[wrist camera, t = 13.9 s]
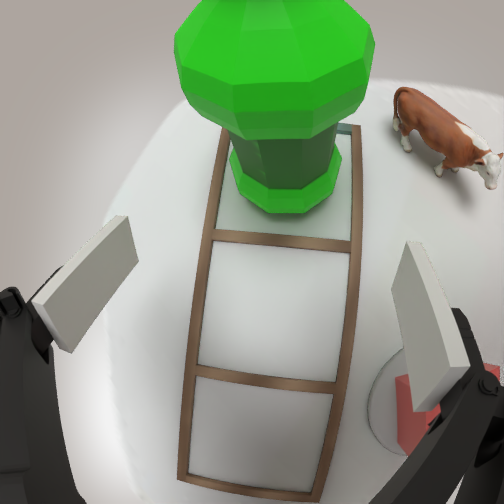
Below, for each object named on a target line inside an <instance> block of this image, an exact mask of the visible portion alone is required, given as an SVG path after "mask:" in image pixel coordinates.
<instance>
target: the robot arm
mask: <svg viewBox="0 0 504 504" xmlns="http://www.w3.org/2000/svg"><path fill="white" fill-rule="evenodd" d="M138 262H139V260H138V257H137V253H136V249H135V245H134V241H133V237H132V232H131V228H130V224H129V219H128V216H115V217H114V218H113V219H112V220H110V221H109V222H108V223H107V224H106V225H105V226H104V227H103V228H102V229H101V230H100V231H99V232H97V233H96V234H95V235H94V236H93V237H92V238H91V239H90V240H89V241H88V242H87V243H86V244H85V245H84V246H83V247H82V248H81V249H80V250H79V251H78V252H77V253H76V254H75V255H74V256H73V257H72V258H71V259H70V260H69V261H68V262H67V263H66V264H65V265H63V266H62V267H60V268H58V269H57V270H56V271H55V272H54V273H53V274H52V275H51V276H50V278H49V279H48V280H47V281H46V282H45V284H43V285H42V286H41V287H40V288H39V289H38V290H37V292H36V293H35V294H34V295H33V296H32V297H31V298H30V299H29V301H28V302H27V303H25V301H24V299H23V298H22V296H21V294H20V292H19V290H18V289H17V288H16V287H8V288H6V289H4V290H3V291H2V292H0V504H86V502H85V500H84V499H83V498H82V497H81V496H80V494H79V493H78V491H77V489H76V486H75V483H74V479H73V475H72V472H71V468H70V464H69V460H68V455H67V451H66V446H65V442H64V437H63V432H62V426H61V420H60V414H59V407H58V399H57V390H56V382H55V369H54V353H53V348H52V346H51V342H52V341H53V340H54V341H55V342H56V344H57V345H58V347H59V348H60V349H62V350H64V351H67V352H69V353H72V352H73V351H74V349H75V348H76V347H77V345H78V343H79V342H80V341H81V339H82V338H83V336H84V335H85V333H86V332H87V330H88V329H89V327H90V326H91V325H92V323H93V322H94V320H95V319H96V318H97V316H98V315H99V313H100V312H101V311H102V309H103V308H104V306H105V305H106V304H107V302H108V301H109V300H110V298H111V297H112V296H113V294H114V293H115V292H116V290H117V289H118V288H119V286H120V285H121V284H122V282H123V281H124V280H125V278H126V277H127V276H128V274H129V273H130V272H131V271H132V269H133V268H134V267H135V266H136V264H137V263H138ZM391 291H392V295H393V299H394V303H395V307H396V312H397V316H398V321H399V325H400V330H401V335H402V340H403V345H404V351H405V356H406V362H407V368H408V375H409V382H410V389H411V396H412V405H413V412H425V411H432V410H433V409H434V408H435V407H436V406H437V405H438V404H440V410H441V412H440V413H439V414H438V415H437V416H436V417H435V418H434V419H433V420H432V421H431V422H430V423H429V424H428V426H430V425H431V426H430V427H429V429H428V430H427V432H426V433H425V435H424V436H423V438H422V439H421V440H420V442H419V443H418V445H417V446H416V447H415V449H414V450H413V451H412V453H411V454H410V455H409V457H408V458H407V459H406V461H405V462H404V463H403V465H402V466H401V467H400V468H399V470H398V471H397V472H396V473H395V474H394V476H393V477H392V478H391V479H390V480H389V481H388V483H387V484H386V485H385V486H384V487H383V488H382V489H381V491H380V492H379V493H378V494H377V495H376V496H375V497H374V498H373V499H372V500H371V501H370V502H369V503H368V504H446V502H447V501H448V499H449V498H450V496H451V495H452V493H453V492H454V490H455V489H456V487H457V485H458V484H459V482H460V480H461V479H462V477H463V475H464V477H463V480H462V483H461V486H460V488H459V491H458V494H457V496H456V499H455V501H454V504H504V386H501V385H500V382H499V380H498V378H497V377H496V376H495V375H494V374H493V373H491V372H489V371H487V370H485V367H484V364H483V361H482V358H481V355H480V352H479V349H478V346H477V343H476V341H475V339H474V335H473V332H472V331H471V327H470V325H469V322H468V320H467V318H466V316H465V315H464V314H463V313H462V311H461V310H460V309H459V308H450V305H449V303H448V300H447V298H446V295H445V293H444V291H443V288H442V286H441V284H440V281H439V279H438V277H437V275H436V272H435V270H434V268H433V266H432V264H431V262H430V259H429V257H428V255H427V253H426V251H425V249H424V247H423V245H422V243H419V242H411V241H406V244H405V248H404V251H403V254H402V258H401V261H400V264H399V267H398V270H397V273H396V276H395V279H394V282H393V285H392V288H391Z"/></svg>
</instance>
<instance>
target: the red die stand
mask: <svg viewBox="0 0 504 504" xmlns="http://www.w3.org/2000/svg"><path fill="white" fill-rule="evenodd" d="M483 364H484V367H485V370H487V371H489V372H491V373H493V374H494V375H495V376H496V377H497V378H498V380H499V382H500V366H496V365H491V364H487V363H483ZM440 412H441V410H440V404H438V405H437V406H436V407H435V408H434V409H433V410H432V411H425V412H413V405H412V396H411V389H410V382H409V375H408V368H407V362H406V356H405V351H404V348H403V349H402V350H400V351H399V352H398V353H396V354H395V355H394V356H393V357H392V358H391V359H390V360H389V361H388V362H387V363H386V364H385V366H384V367H383V368H382V370H381V371H380V373H379V374H378V376H377V378H376V380H375V382H374V384H373V387H372V389H371V392H370V396H369V401H368V418H369V423H370V426H371V429H372V431H373V433H374V434H375V436H376V437H377V439H378V440H379V442H380V443H381V444H382V445H383V446H384V447H385V448H387V449H388V450H389V451H391V452H394V453H396V454H400V455H406V456H408V457H409V455H410V454H411V453H412V451H413V450H414V449H415V447H416V446H417V445H418V443H419V442H420V440H421V439H422V438H423V436H424V435H425V433H426V432H427V430H428V429H429V427H430V426H431V425H430V426H428V424H429V423H430V422H431V421H432V420H433V419H434V418H435V417H436V416H437V415H438V414H439V413H440Z"/></svg>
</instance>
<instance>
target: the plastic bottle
mask: <svg viewBox="0 0 504 504" xmlns="http://www.w3.org/2000/svg"><path fill="white" fill-rule="evenodd" d="M374 48H375V42H374V38H373V35H372V32H371V28H370V25H369V24H368V23H367V22H366V21H365V20H364V19H363V18H362V17H361V16H360V15H359V14H358V13H357V12H356V11H355V10H354V9H353V8H352V7H351V6H350V5H349V4H348V3H346V2H345V1H344V0H202V1H201V2H200V3H199V4H198V5H197V6H196V8H195V9H194V10H193V11H192V12H191V14H190V15H189V17H188V18H187V19H186V20H185V21H184V23H183V24H182V26H181V27H180V28H179V29H178V31H177V32H176V33H175V40H174V54H175V59H176V65H177V69H178V74H179V79H180V84H181V88H182V90H183V92H184V94H185V96H186V98H187V100H188V102H189V104H190V105H191V106H192V107H193V108H194V109H195V110H196V111H197V112H198V113H199V114H200V115H201V116H203V117H205V118H207V119H208V120H210V121H212V122H214V123H216V124H218V125H220V126H222V127H223V128H225V129H227V131H228V134H229V136H230V139H231V141H232V144H233V147H234V148H233V150H232V153H231V156H230V159H229V161H230V164H231V167H232V171H233V174H234V177H235V181H236V184H237V187H238V190H239V192H240V194H241V195H242V196H244V197H245V198H247V199H248V200H250V201H251V202H253V203H254V204H256V205H257V206H258V207H260V208H261V209H263V210H264V211H266V212H267V213H305V212H307V211H308V210H310V209H311V208H313V207H314V206H315V205H317V204H318V203H320V202H321V201H323V200H324V199H326V198H327V197H328V196H330V195H331V194H332V193H333V189H334V186H335V182H336V179H337V175H338V172H339V168H340V165H341V161H342V157H341V155H340V153H339V151H338V149H337V146H336V144H335V137H336V132H337V126H338V122H339V121H340V120H342V119H344V118H346V117H347V116H349V115H351V114H353V113H354V112H355V111H356V110H357V109H358V107H359V106H360V104H361V103H362V101H363V100H364V97H365V93H366V89H367V85H368V81H369V76H370V70H371V65H372V60H373V53H374Z"/></svg>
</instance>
